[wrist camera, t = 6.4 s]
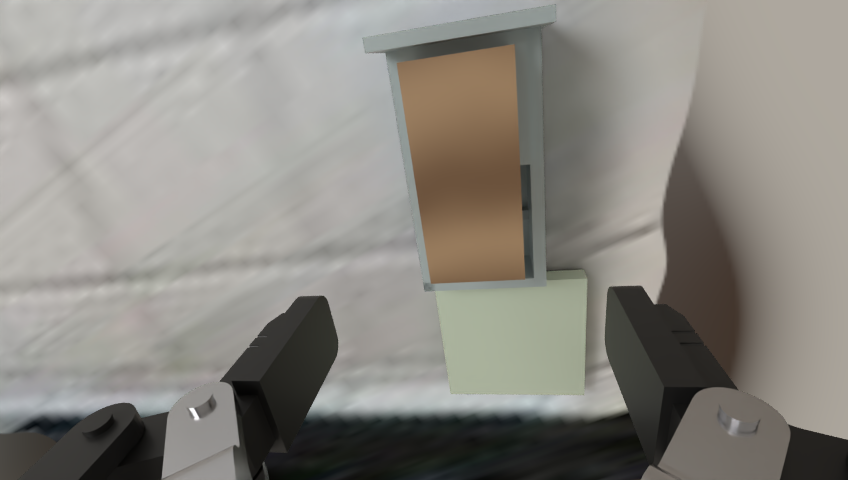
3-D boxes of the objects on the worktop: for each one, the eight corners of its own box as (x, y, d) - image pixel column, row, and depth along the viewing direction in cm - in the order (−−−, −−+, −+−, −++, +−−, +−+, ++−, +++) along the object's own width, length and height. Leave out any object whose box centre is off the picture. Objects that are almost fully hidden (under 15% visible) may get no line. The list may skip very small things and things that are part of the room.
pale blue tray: (393, 41, 23) (362, 37, 17) (539, 16, 21) (556, 4, 16) (427, 265, 28) (413, 314, 23) (544, 258, 27) (558, 310, 21)
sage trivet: (436, 276, 29) (434, 285, 28) (583, 269, 27) (587, 278, 26) (451, 382, 33) (450, 393, 32) (580, 383, 31) (584, 395, 30)
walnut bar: (414, 60, 19) (396, 63, 16) (510, 45, 18) (514, 43, 15) (440, 248, 23) (430, 283, 20) (519, 243, 22) (525, 279, 19)
